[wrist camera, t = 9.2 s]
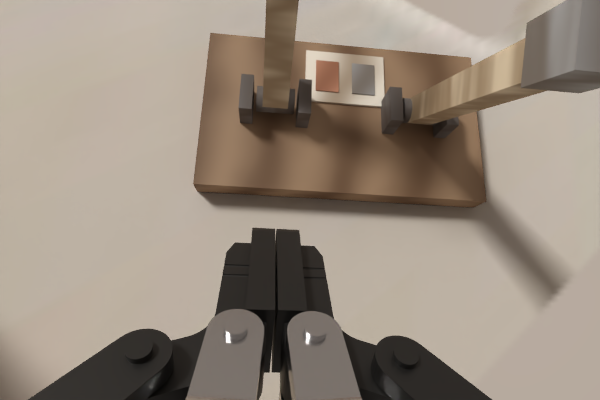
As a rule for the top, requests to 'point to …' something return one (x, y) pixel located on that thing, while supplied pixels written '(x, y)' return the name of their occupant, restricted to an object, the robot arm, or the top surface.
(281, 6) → the terracotta lever
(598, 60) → the slate lever
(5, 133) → the top surface
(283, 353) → the robot arm
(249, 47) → the switch board
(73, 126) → the top surface
